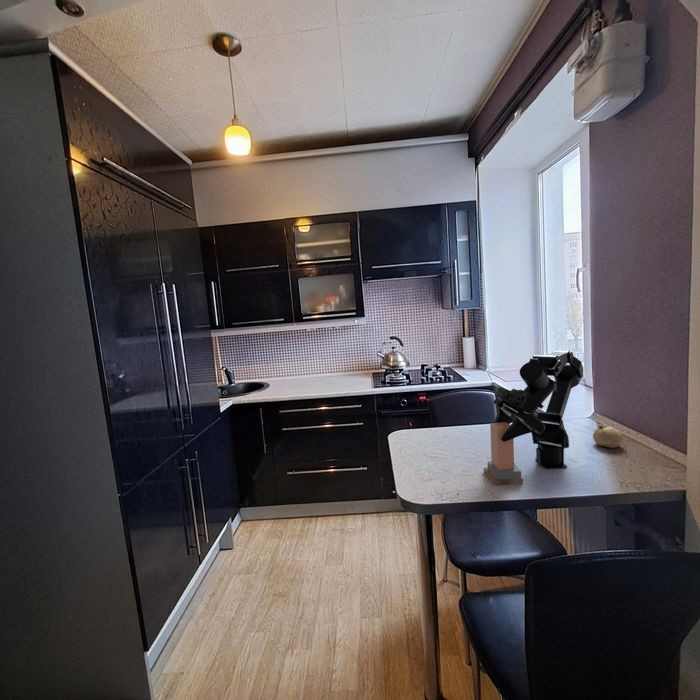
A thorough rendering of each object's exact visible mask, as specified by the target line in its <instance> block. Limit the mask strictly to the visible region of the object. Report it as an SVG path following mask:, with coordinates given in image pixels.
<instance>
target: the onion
mask: <svg viewBox="0 0 700 700" xmlns="http://www.w3.org/2000/svg"><path fill="white" fill-rule="evenodd" d="M592 439H593V440H594V442H595V444H597V445H599V446H601V447H606V448H611V449H615V448H618V447H619V446H620V445H621V444H622V443H623V440H624V437H623V434H622V432H620V431H619V430H617V429H616V428H615V427H612V426H609V425H607V424H605V423H604V424H599V425H598V426H597V427H596V429H594V432H593V434H592Z"/></svg>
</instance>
